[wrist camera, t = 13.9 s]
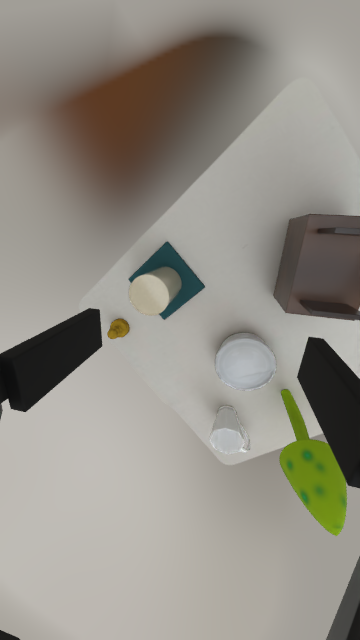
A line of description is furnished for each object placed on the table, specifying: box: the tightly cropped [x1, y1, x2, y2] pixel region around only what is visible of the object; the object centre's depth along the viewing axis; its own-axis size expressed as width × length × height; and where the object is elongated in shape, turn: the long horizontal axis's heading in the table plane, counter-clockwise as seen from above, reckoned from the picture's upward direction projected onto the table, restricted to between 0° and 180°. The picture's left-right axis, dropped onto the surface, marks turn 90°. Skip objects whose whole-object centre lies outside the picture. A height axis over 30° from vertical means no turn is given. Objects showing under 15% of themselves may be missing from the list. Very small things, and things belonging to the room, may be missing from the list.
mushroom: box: [280, 389, 347, 536], centre depth 37 cm, size 8×8×25 cm
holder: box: [274, 214, 360, 321], centre depth 32 cm, size 13×9×15 cm
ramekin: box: [215, 333, 276, 391], centre depth 45 cm, size 11×11×5 cm
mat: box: [129, 242, 205, 320], centre depth 45 cm, size 11×11×1 cm
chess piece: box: [108, 319, 129, 339], centre depth 48 cm, size 4×4×5 cm
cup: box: [209, 405, 250, 454], centre depth 49 cm, size 7×10×8 cm
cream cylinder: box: [129, 267, 182, 316], centre depth 40 cm, size 7×7×10 cm
